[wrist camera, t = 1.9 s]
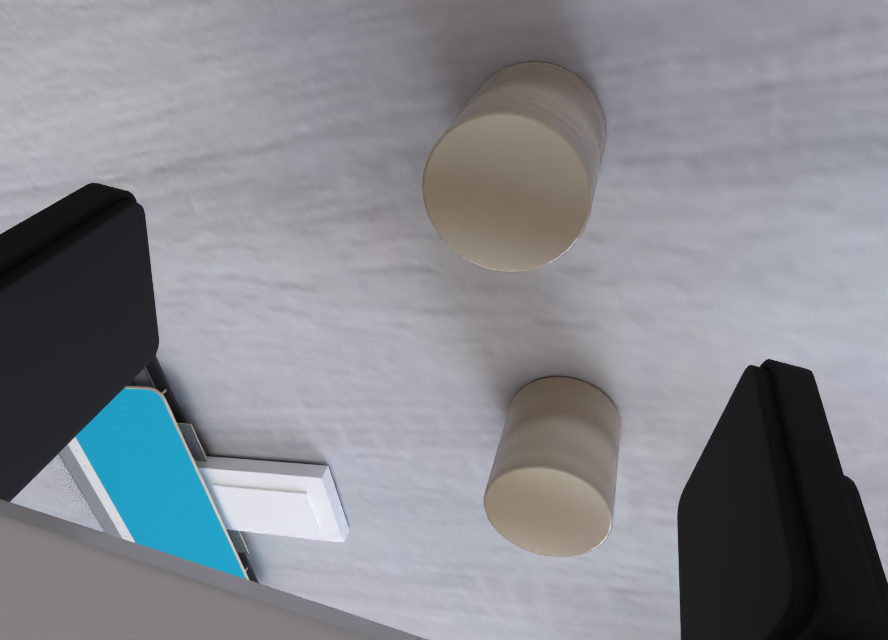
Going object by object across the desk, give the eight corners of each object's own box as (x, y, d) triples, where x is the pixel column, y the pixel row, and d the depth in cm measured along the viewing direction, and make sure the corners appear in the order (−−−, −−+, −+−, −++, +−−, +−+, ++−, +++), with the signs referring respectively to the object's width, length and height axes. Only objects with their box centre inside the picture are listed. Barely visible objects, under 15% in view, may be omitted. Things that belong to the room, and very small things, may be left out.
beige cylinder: (521, 363, 22) (496, 451, 19) (635, 394, 21) (629, 491, 18) (499, 443, 24) (473, 534, 21) (603, 473, 24) (592, 572, 20)
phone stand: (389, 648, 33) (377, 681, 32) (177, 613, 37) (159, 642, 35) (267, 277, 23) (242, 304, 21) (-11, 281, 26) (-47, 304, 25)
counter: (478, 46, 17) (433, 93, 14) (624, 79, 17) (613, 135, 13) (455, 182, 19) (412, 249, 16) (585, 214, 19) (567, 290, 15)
